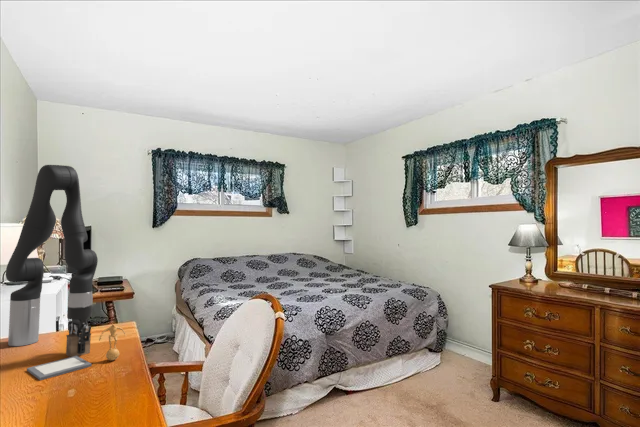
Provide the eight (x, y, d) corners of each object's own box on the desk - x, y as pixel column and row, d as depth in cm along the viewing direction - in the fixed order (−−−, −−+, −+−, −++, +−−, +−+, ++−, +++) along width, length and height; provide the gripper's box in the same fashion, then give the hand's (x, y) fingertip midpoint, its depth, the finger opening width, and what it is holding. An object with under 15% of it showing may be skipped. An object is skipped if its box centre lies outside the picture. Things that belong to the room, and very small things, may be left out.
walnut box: (65, 354, 128) (66, 335, 128) (84, 350, 133) (85, 331, 133) (70, 357, 125) (71, 337, 126) (90, 352, 130) (91, 333, 131)
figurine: (98, 364, 120) (100, 328, 120) (97, 359, 125) (99, 324, 125) (126, 359, 124) (128, 325, 125) (124, 354, 129) (125, 321, 130)
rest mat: (26, 370, 114) (27, 367, 114) (76, 357, 125) (76, 355, 125) (40, 380, 107) (40, 377, 107) (91, 366, 118) (91, 363, 118)
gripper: (60, 303, 131) (58, 350, 130) (76, 309, 123) (74, 359, 122) (83, 300, 137) (81, 345, 136) (100, 305, 129) (98, 353, 128)
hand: (78, 351), depth 129 cm, fingers closed on walnut box, 4 cm apart
